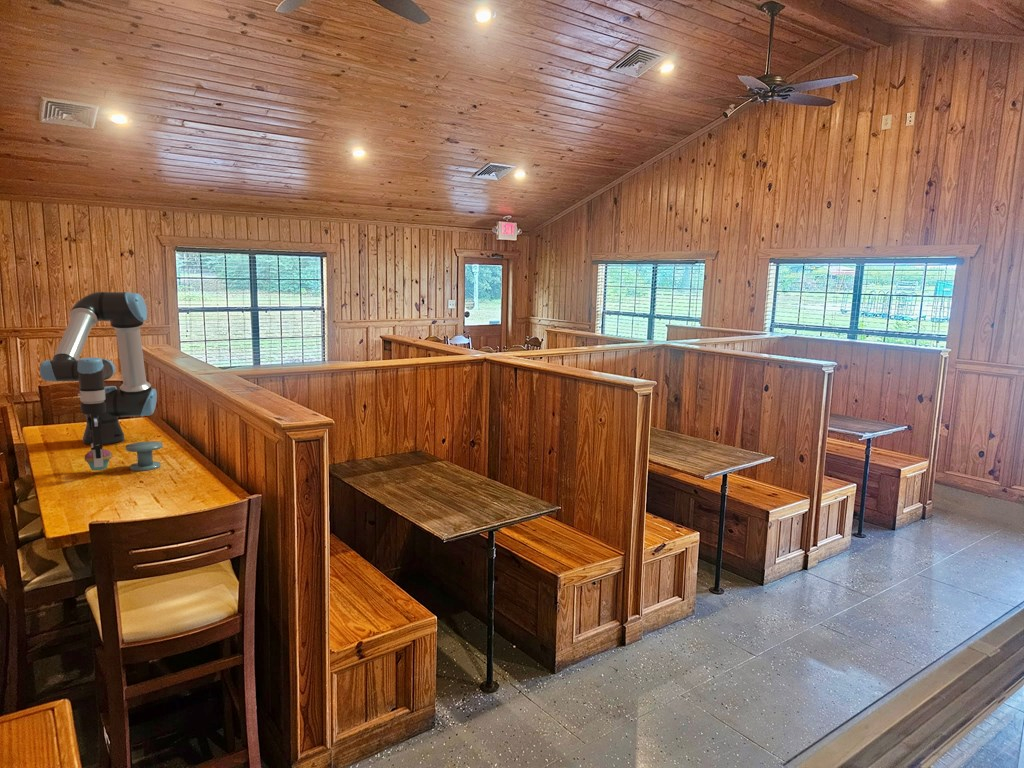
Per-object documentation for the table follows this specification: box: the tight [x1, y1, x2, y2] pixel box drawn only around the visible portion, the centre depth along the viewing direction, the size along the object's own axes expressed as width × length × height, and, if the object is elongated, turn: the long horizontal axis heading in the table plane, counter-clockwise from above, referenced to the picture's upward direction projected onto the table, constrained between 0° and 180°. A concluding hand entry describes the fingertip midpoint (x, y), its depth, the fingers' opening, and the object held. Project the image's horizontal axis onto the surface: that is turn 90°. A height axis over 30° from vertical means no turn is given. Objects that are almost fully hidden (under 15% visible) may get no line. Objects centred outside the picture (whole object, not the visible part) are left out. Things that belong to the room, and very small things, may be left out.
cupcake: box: [83, 448, 113, 471], centre depth 233 cm, size 9×8×12 cm
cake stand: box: [125, 440, 164, 472], centre depth 242 cm, size 12×12×8 cm
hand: (97, 463), depth 233 cm, fingers closed on cupcake, 8 cm apart
